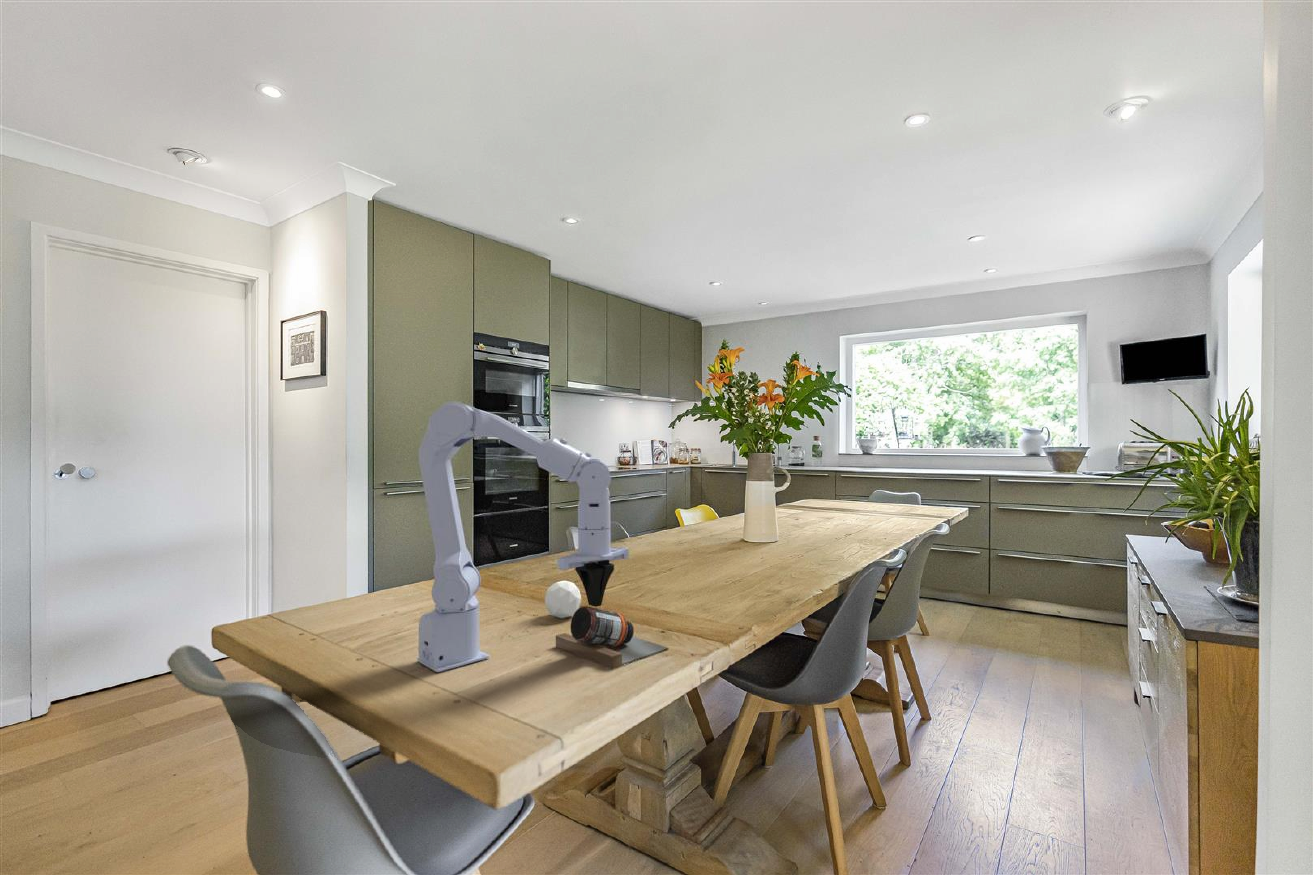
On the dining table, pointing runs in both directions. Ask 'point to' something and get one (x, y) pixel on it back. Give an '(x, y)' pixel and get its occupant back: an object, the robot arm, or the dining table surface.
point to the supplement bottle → (600, 627)
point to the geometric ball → (562, 599)
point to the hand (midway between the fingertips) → (595, 605)
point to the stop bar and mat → (609, 650)
